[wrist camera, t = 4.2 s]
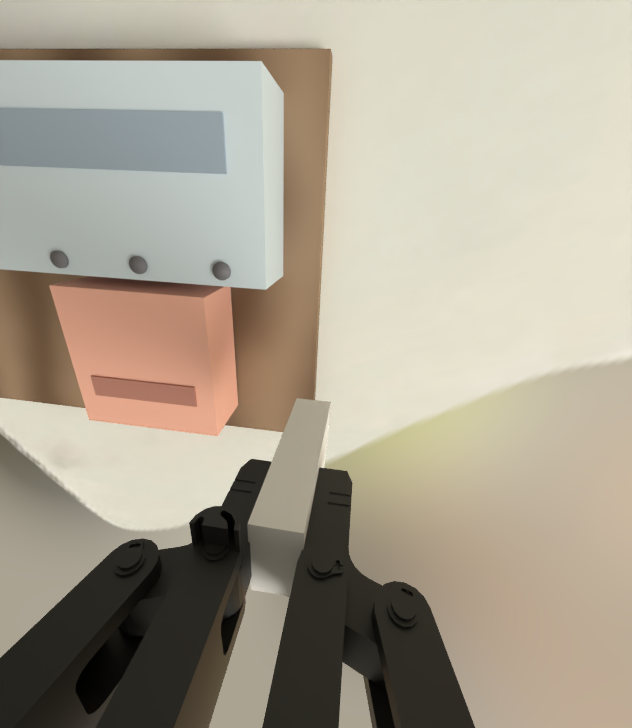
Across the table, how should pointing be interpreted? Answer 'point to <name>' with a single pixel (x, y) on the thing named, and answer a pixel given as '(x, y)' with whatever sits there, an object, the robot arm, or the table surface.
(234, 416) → the backing board
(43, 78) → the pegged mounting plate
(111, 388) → the stub
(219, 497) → the table surface
